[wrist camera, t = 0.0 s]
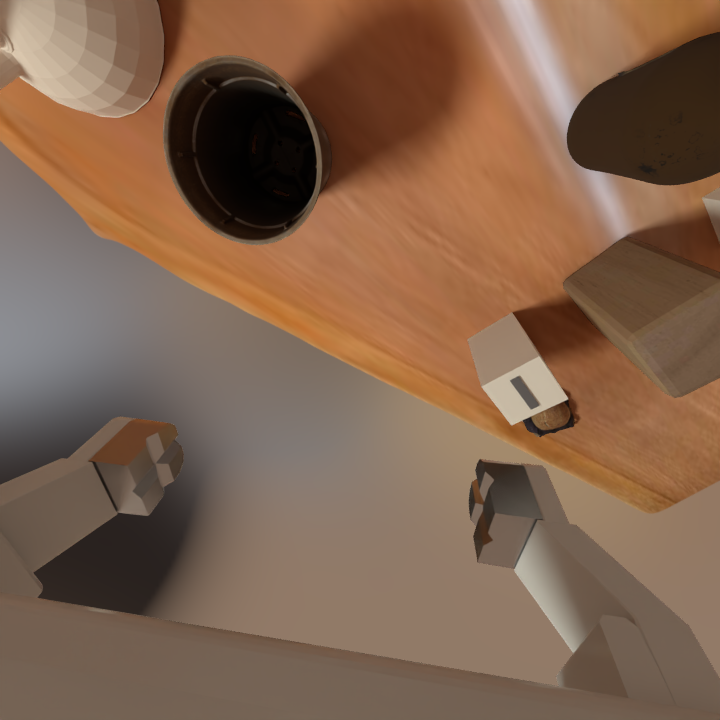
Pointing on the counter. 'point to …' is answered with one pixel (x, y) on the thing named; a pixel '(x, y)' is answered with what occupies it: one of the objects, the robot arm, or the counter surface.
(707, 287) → the block
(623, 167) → the olive oil
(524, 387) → the marked block one
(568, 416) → the bread roll
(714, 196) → the marked block two
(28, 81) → the kettle
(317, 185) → the plant pot
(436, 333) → the counter surface
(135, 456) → the robot arm
